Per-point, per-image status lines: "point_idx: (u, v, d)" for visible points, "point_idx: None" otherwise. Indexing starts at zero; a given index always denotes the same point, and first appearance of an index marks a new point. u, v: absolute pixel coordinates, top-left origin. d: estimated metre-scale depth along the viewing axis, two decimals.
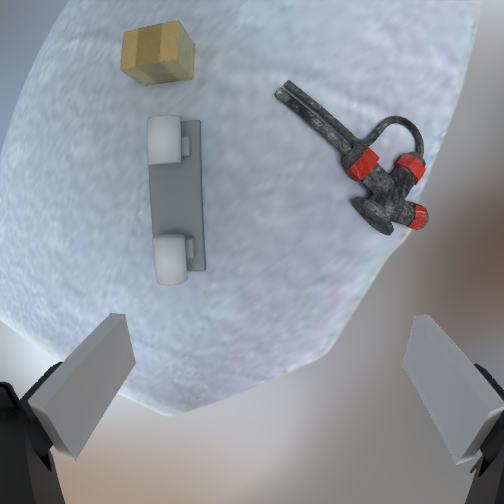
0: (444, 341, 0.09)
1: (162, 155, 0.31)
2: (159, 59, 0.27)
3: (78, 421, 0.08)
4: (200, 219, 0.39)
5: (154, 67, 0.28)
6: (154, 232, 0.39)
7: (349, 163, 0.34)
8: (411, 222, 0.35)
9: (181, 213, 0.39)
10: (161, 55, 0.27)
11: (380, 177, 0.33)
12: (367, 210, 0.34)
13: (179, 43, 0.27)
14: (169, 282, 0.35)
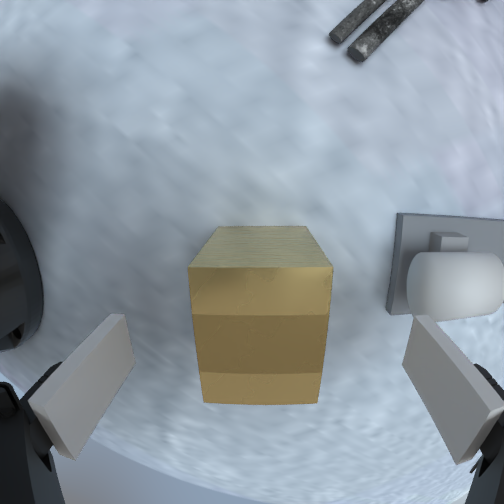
0: (444, 341, 0.09)
1: (498, 288, 0.13)
2: (320, 314, 0.12)
3: (78, 421, 0.08)
4: None
5: None
6: None
7: None
8: None
9: None
10: (308, 310, 0.12)
11: None
12: None
13: (264, 259, 0.12)
14: None
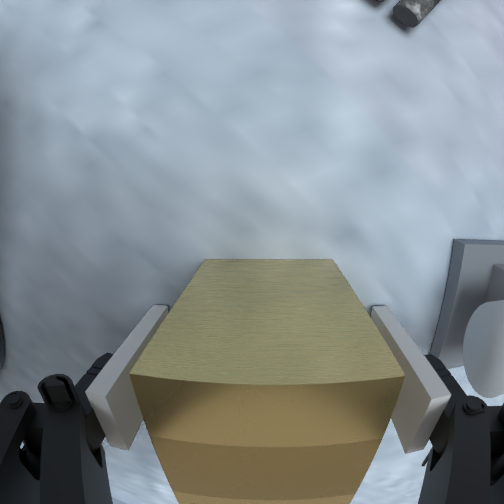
0: (397, 330, 0.11)
1: None
2: (368, 439, 0.06)
3: (132, 410, 0.09)
4: None
5: None
6: None
7: None
8: None
9: None
10: (349, 438, 0.06)
11: None
12: None
13: (276, 353, 0.06)
14: None
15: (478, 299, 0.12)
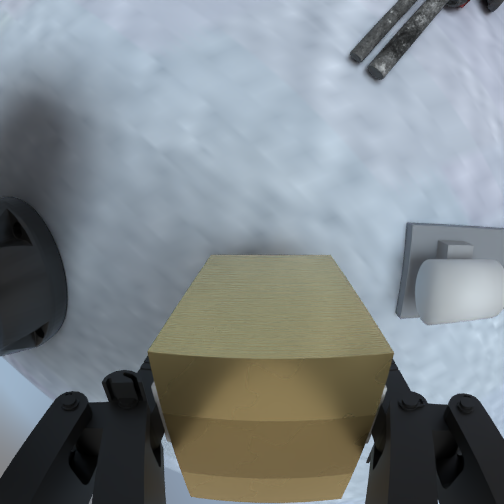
0: None
1: (500, 293, 0.13)
2: (363, 415, 0.06)
3: None
4: None
5: None
6: None
7: None
8: None
9: None
10: (345, 413, 0.06)
11: None
12: None
13: (278, 334, 0.07)
14: None
15: None
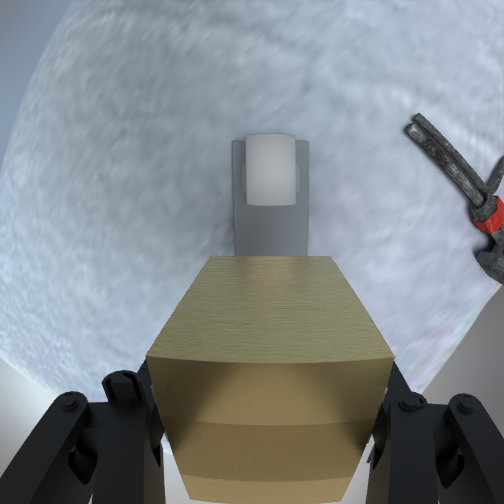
0: None
1: (277, 195, 0.22)
2: (363, 419, 0.06)
3: None
4: None
5: None
6: None
7: (483, 216, 0.25)
8: None
9: None
10: (345, 417, 0.06)
11: None
12: (497, 266, 0.25)
13: (278, 337, 0.07)
14: None
15: None
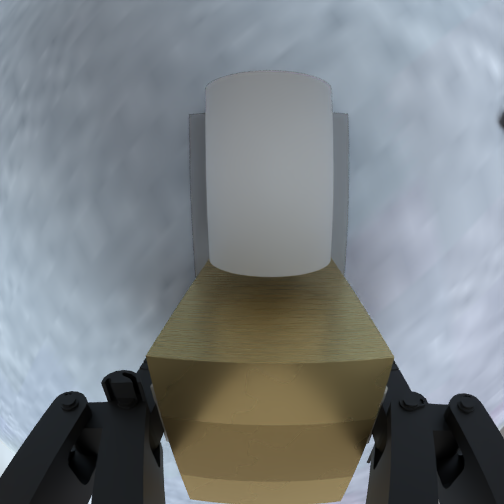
0: None
1: (287, 248, 0.08)
2: (362, 419, 0.06)
3: None
4: None
5: None
6: None
7: None
8: None
9: None
10: (345, 417, 0.06)
11: None
12: None
13: (278, 338, 0.07)
14: None
15: None
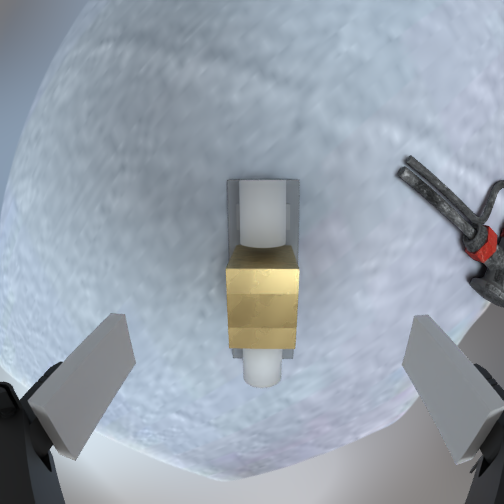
0: (444, 341, 0.09)
1: (268, 238, 0.25)
2: (293, 293, 0.23)
3: (78, 421, 0.08)
4: None
5: None
6: None
7: (475, 248, 0.27)
8: None
9: None
10: (287, 291, 0.23)
11: (498, 256, 0.27)
12: (489, 292, 0.27)
13: (264, 265, 0.24)
14: (265, 385, 0.28)
15: None
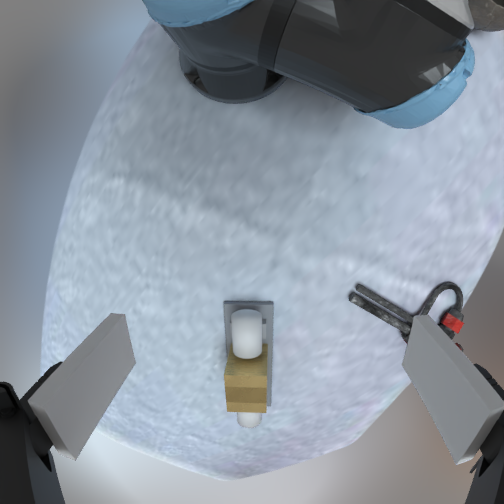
0: (444, 341, 0.09)
1: (249, 353, 0.38)
2: (264, 387, 0.37)
3: (78, 421, 0.08)
4: (270, 376, 0.45)
5: None
6: None
7: None
8: None
9: None
10: (260, 386, 0.37)
11: None
12: None
13: (247, 371, 0.37)
14: (250, 426, 0.42)
15: None
